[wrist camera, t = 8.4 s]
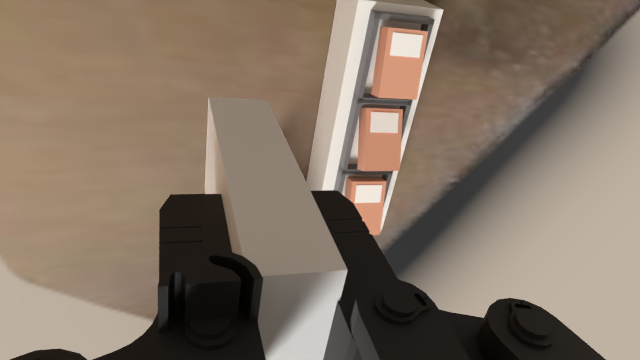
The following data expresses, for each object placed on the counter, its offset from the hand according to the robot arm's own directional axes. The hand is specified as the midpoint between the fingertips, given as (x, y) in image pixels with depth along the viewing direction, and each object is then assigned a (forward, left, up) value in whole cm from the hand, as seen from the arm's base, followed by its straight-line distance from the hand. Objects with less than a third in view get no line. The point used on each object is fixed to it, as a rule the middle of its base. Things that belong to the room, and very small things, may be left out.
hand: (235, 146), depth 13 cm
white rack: (+10, +15, -26) cm, 32 cm away
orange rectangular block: (+4, +15, -21) cm, 26 cm away
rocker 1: (+10, +15, -21) cm, 27 cm away
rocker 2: (+17, +15, -21) cm, 30 cm away
